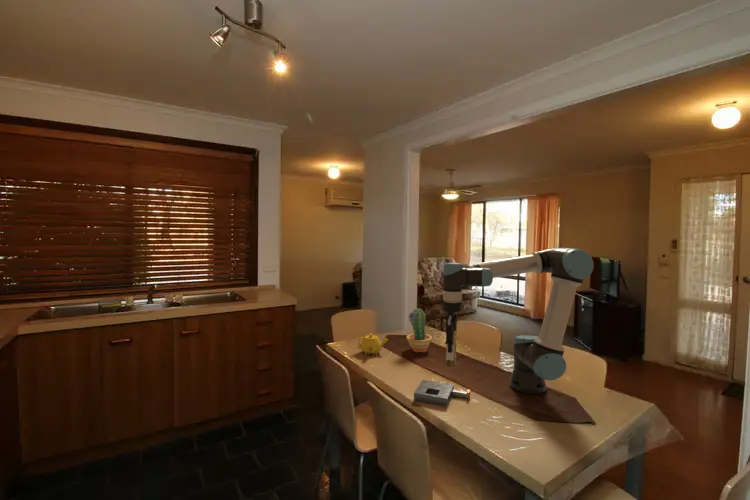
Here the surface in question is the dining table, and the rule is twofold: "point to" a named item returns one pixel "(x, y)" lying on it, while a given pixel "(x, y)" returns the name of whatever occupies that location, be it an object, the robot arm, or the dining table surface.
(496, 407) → the dining table surface
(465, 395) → the lock pin
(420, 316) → the potted cactus
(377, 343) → the teapot
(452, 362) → the cylinder
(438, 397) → the block
